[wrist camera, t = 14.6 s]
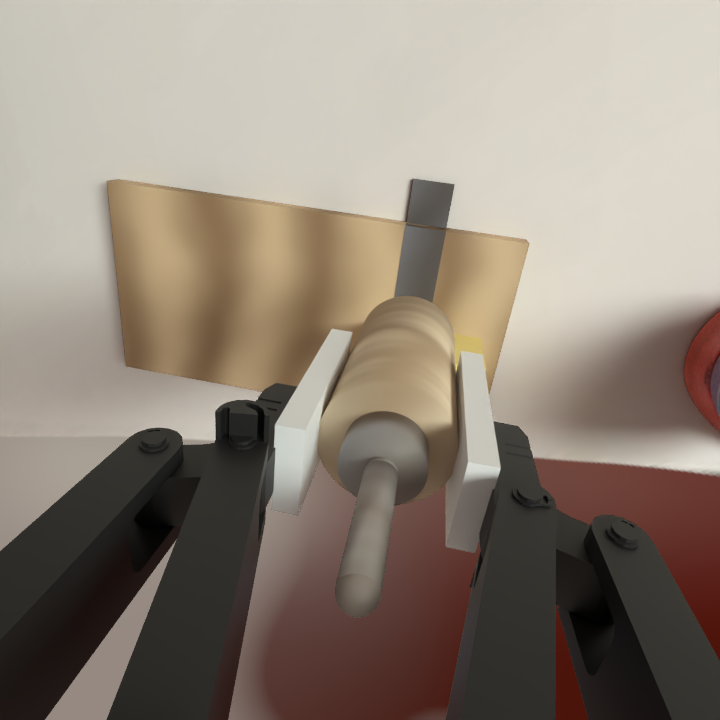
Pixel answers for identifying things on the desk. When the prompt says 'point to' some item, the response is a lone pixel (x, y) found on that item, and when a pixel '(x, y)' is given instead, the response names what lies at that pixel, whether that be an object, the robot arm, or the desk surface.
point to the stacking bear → (705, 371)
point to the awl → (389, 433)
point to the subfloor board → (290, 279)
